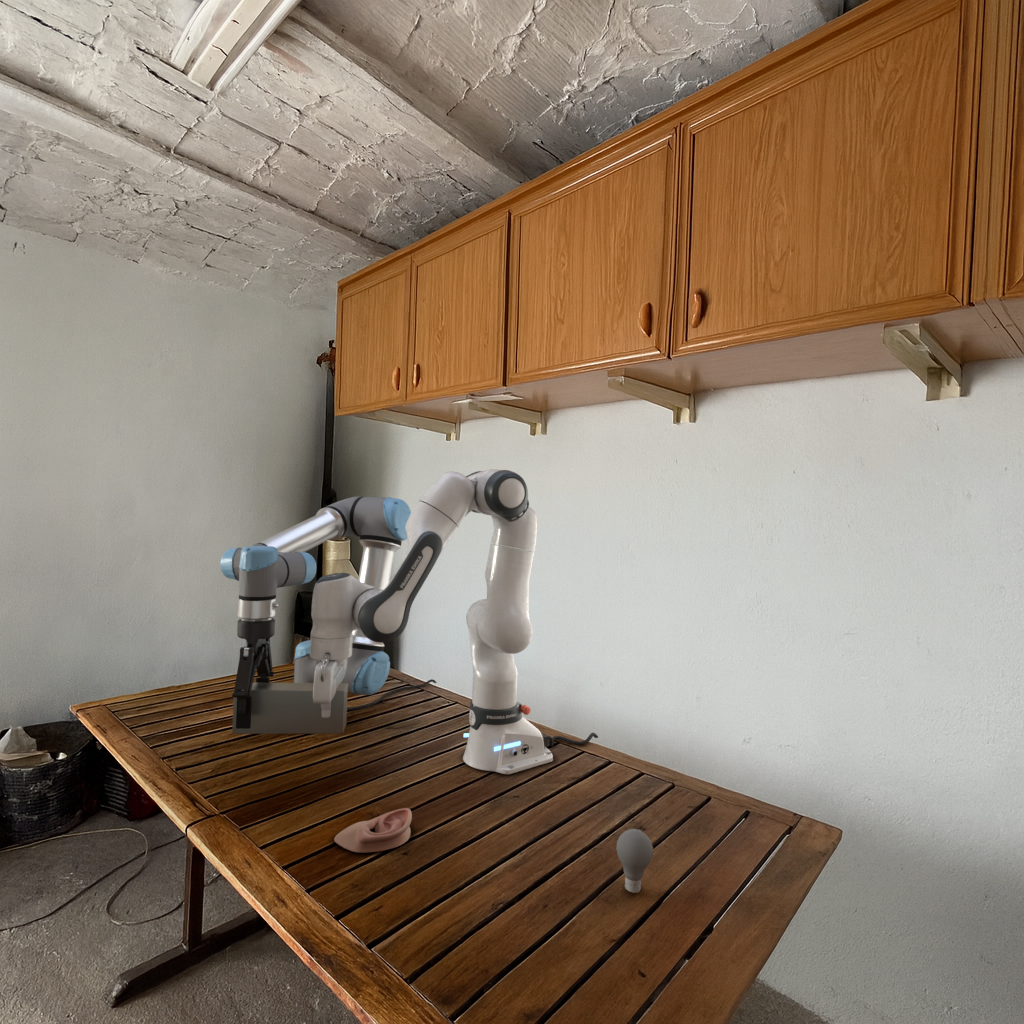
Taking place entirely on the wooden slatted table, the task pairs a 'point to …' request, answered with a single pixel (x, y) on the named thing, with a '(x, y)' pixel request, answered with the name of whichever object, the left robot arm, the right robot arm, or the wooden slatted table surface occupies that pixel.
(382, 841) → the anatomical model
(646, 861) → the light bulb
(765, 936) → the wooden slatted table surface
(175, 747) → the wooden slatted table surface
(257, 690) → the bar
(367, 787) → the wooden slatted table surface
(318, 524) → the left robot arm
